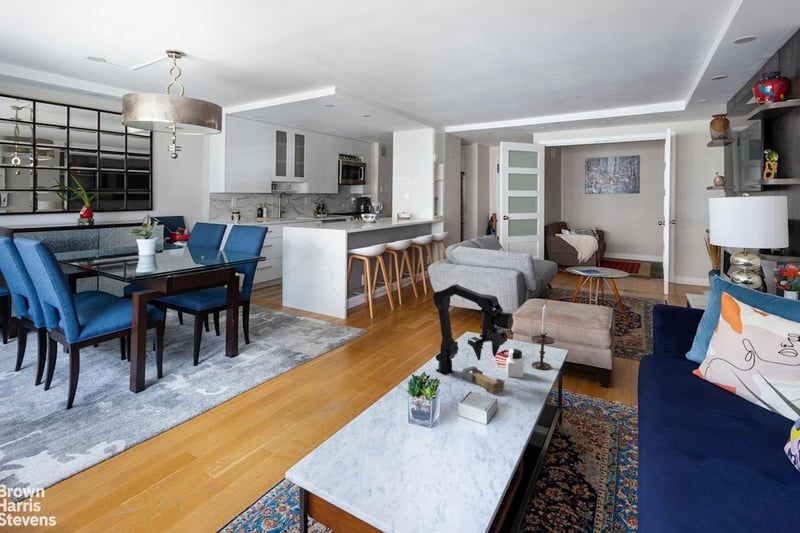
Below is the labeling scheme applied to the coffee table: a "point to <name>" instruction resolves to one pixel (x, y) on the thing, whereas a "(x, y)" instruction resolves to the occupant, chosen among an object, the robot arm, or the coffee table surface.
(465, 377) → the sleeve
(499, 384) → the socket
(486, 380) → the bar
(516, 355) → the medicine bottle
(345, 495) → the coffee table surface
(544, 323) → the candlestick
